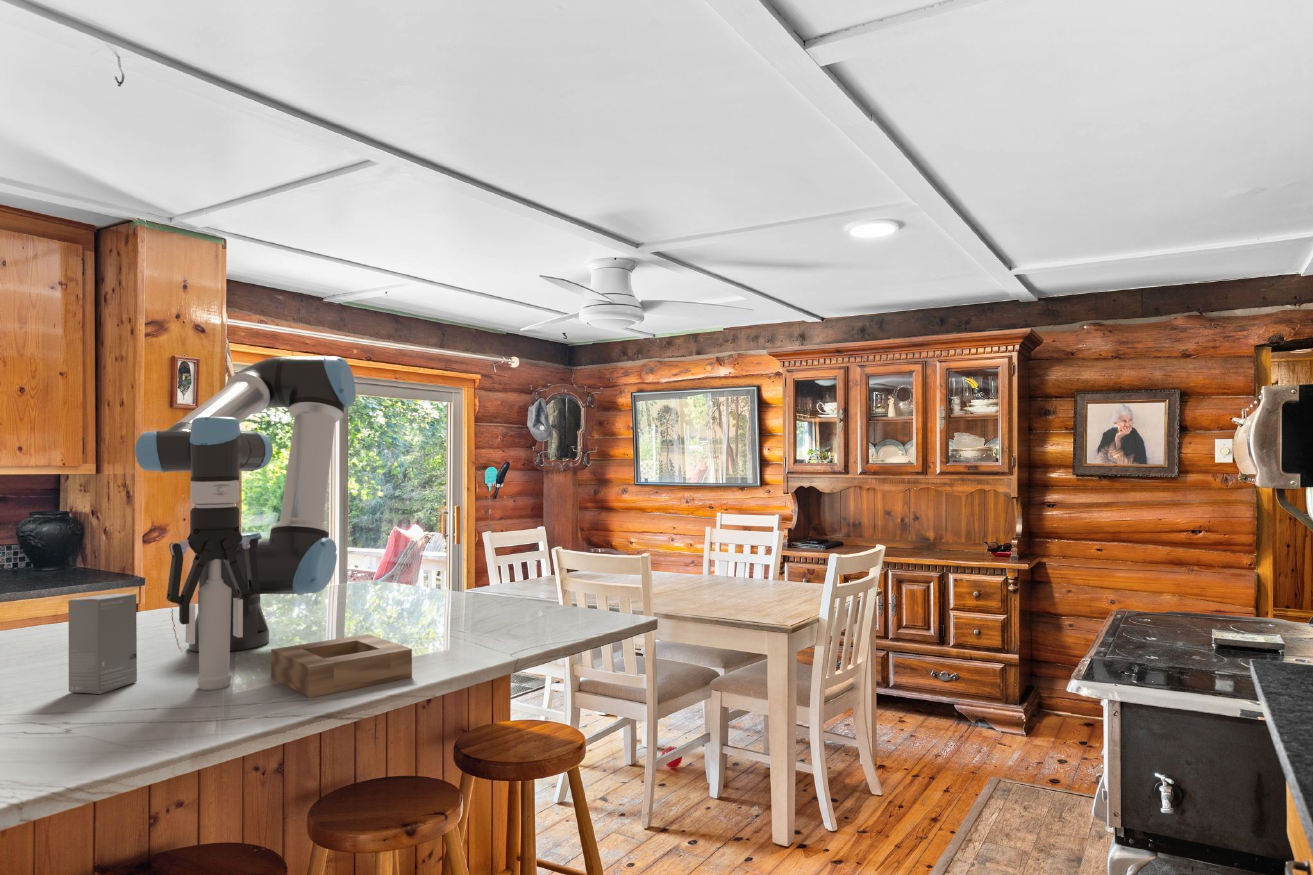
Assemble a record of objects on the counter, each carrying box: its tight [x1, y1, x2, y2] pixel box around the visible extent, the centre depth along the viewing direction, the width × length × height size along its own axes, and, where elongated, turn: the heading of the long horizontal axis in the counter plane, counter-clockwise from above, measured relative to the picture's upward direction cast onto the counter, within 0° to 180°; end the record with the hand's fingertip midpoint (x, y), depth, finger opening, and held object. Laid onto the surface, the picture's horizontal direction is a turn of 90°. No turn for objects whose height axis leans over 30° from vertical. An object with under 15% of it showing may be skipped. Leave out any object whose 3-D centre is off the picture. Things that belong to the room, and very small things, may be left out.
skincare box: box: [67, 593, 138, 695], centre depth 143 cm, size 8×7×16 cm
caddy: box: [270, 633, 413, 699], centre depth 148 cm, size 18×18×5 cm
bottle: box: [197, 559, 232, 691], centre depth 143 cm, size 5×5×25 cm
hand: (214, 639), depth 143 cm, fingers open, 7 cm apart
